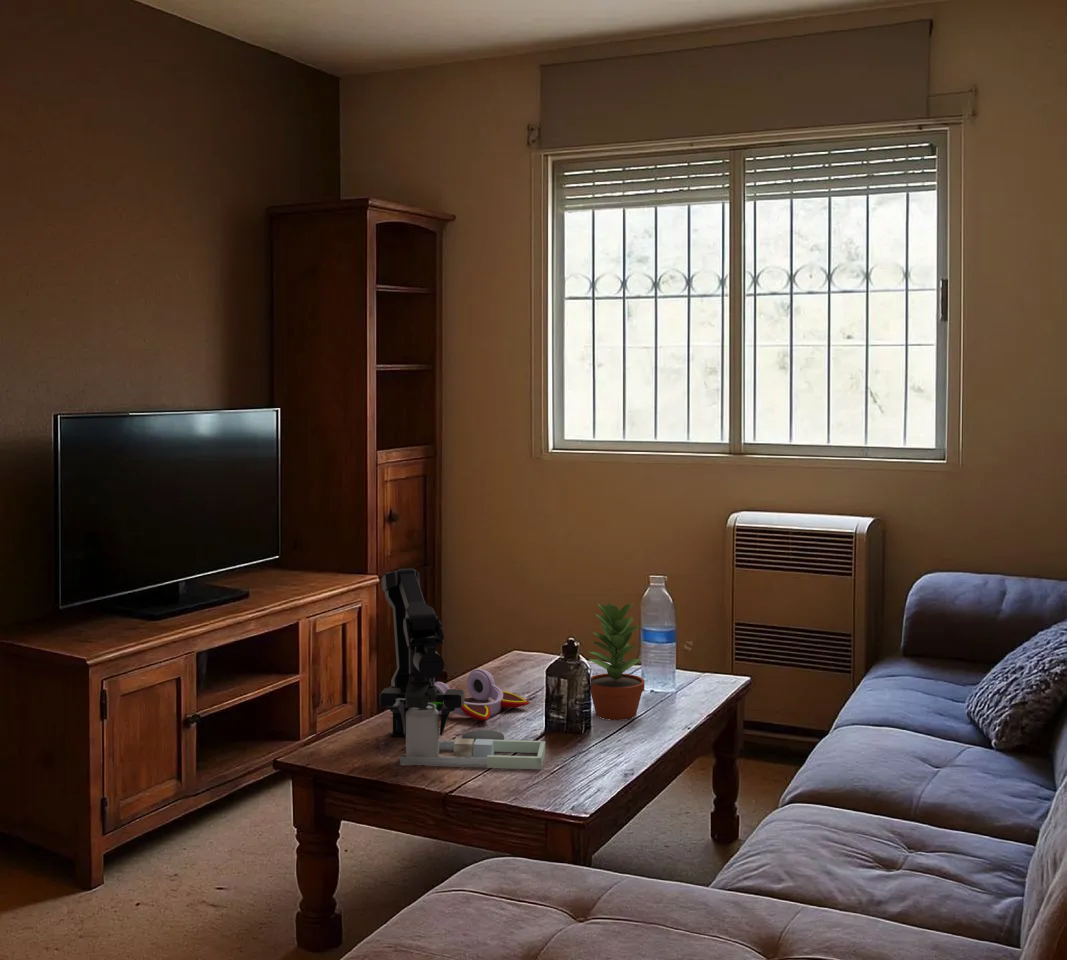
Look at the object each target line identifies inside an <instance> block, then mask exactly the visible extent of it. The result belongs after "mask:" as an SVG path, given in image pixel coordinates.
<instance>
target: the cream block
mask: <svg viewBox="0 0 1067 960" xmlns="http://www.w3.org/2000/svg"><path fill="white" fill-rule="evenodd" d="M454 741H455V743H454V751H453V756H456V757H474V739H462V737H461V738H459V737H457V738H455V740H454Z"/></svg>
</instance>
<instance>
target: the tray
mask: <svg viewBox="0 0 1067 960" xmlns="http://www.w3.org/2000/svg"><path fill="white" fill-rule="evenodd" d="M496 752H497V753H498V752H499V753H503V752H504V753H531V754H533V753H534V754H536V755H537V756H533V755H532V756H531V755H530V756H529V755H527V756H525V755H496V754H494V755H488V756H487V768H488V769H515V770H516V769H517V770H519V769H520V770H522V769H523V770H542V768H543V764H544V760H545V756H546V740H524V739H523V740H517V739H515V740H514V739H504V740H494V753H496Z"/></svg>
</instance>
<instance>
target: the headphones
mask: <svg viewBox="0 0 1067 960" xmlns="http://www.w3.org/2000/svg"><path fill="white" fill-rule="evenodd" d="M435 686H436V688H437V694H445V693H446V691H447V689H451V688H450V686H449V685H447V684H446V683H444V682H442V681H435ZM466 689H467V692H468V694H469V695H470V696H471V698H473V699H474V700H475V701H481V700H482V702H478V703H476V702H469V701H464V703H463V705H462V707H461V708H456V709H455V711H451V712H450V713H453V714H455V715H457V716H463V717H468V718H472V719H474V720H476V721H477V720H478V721H487V720H488V719H489V718H490V716H493V714H494V715H496V714H498V713H500V712H501V709H502V708H505V709H507V708H509V709H512V708H520V707H524V706H527V705H530V701H528V699H526V698H524V697H522V696H519V695H518V694H515V693H513V692H509V691H506V690H505V691H504V690H502V689H501V688H500V687H498V686H497V685H496V681H495V678H494V676H493V675H492V674H491V672H490V671H488V670H486V669H481V668H477V669H473V670H472V671H471V672H470V673H469V674H468V676H467V679H466ZM489 699H492V700H493V701H491V702H486V701H487V700H489ZM483 702H484V703H483ZM428 703H433V704H435V705H436V709H437V710H438V712H439V716H441V715H442V712H441V709H442V707H443V705H444V704H443V702H428Z"/></svg>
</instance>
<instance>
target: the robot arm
mask: <svg viewBox="0 0 1067 960" xmlns="http://www.w3.org/2000/svg"><path fill="white" fill-rule="evenodd" d="M420 580H421V579H420V572H419V571H418V570H417V569H414V568H399V569H398V570H395V571H388V572H386V574H384V575H383V576H382V578H381V587H382V591H383V592H384V598H385V600H386V602H387V604H389V606H390V607H391V609H392V616H393V617H392V618H393V630H394V631H393V632H394V633H393V634H394V644H395V645H394V646H395V658H396V660H395V661H396V670H395V672H394V674H393V676H392V677H391V681H390V684H391V686H390V687H385V688H383V690H382V691H381V693H380V694H379V695H378V705H379V706H380V707H385V708H386V710H389V711H390V712H392V732H391V733H390V736H391V735H392V737H406V712H407V711H408V709H409V708H420V709H424V708H426V707H427V706H428V702H443V704H444V705H443V707H442V709H441V712H442V715H440V717H441V718H440V724H439V737H440V736H441V737H442V736H443V735H444V732H445V728H446V725H447V721H448V718H449V716H450V714H451V713H452V712H451V711H455V709H456V708H461V707H462V705H463V703H464V702H466V701H465V700H466V699H465V695H466V694H465V691H464V690H463V689H455V688H453V689H452V688H450V689H447V691H446V693H445V694H437V688H436V686H435V682H436V681H435V680H436V679H435V678H437V677H440V675H441V674H442V673H443V671H444V669H445V661H444V658H443V657H442V656H441V655H440V654H439V653H438V651H437V646H443V643H444V642H443V640H444V638H445V636H444V631H443V627H442V622H441V620H440V617H439V616H438V615H437V614H436V612H435V609H434V608H433V607H432V606H430V605H428V604H427V603H426V601H425V598H424V596H423V595H424V594H423V592H422V589H421V584H420V583H421V582H420ZM435 636H436V637H435Z"/></svg>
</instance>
